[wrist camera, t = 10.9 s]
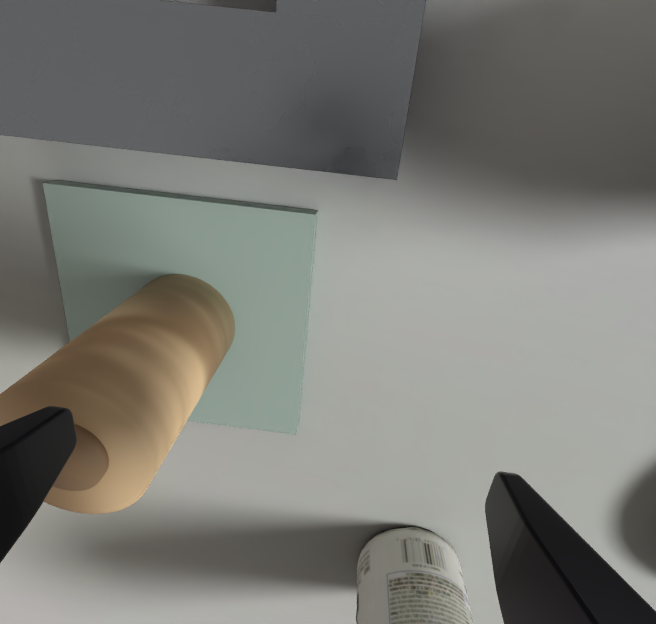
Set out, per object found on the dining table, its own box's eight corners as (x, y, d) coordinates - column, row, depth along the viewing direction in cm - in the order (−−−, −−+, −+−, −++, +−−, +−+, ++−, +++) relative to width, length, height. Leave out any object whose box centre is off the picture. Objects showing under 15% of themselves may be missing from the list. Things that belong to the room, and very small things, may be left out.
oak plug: (235, 280, 20) (140, 400, 11) (234, 371, 22) (153, 531, 13) (129, 268, 20) (-45, 376, 11) (139, 360, 22) (-3, 510, 13)
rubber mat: (317, 210, 19) (315, 214, 18) (298, 422, 24) (296, 434, 23) (57, 180, 19) (42, 183, 18) (91, 396, 24) (80, 407, 23)
